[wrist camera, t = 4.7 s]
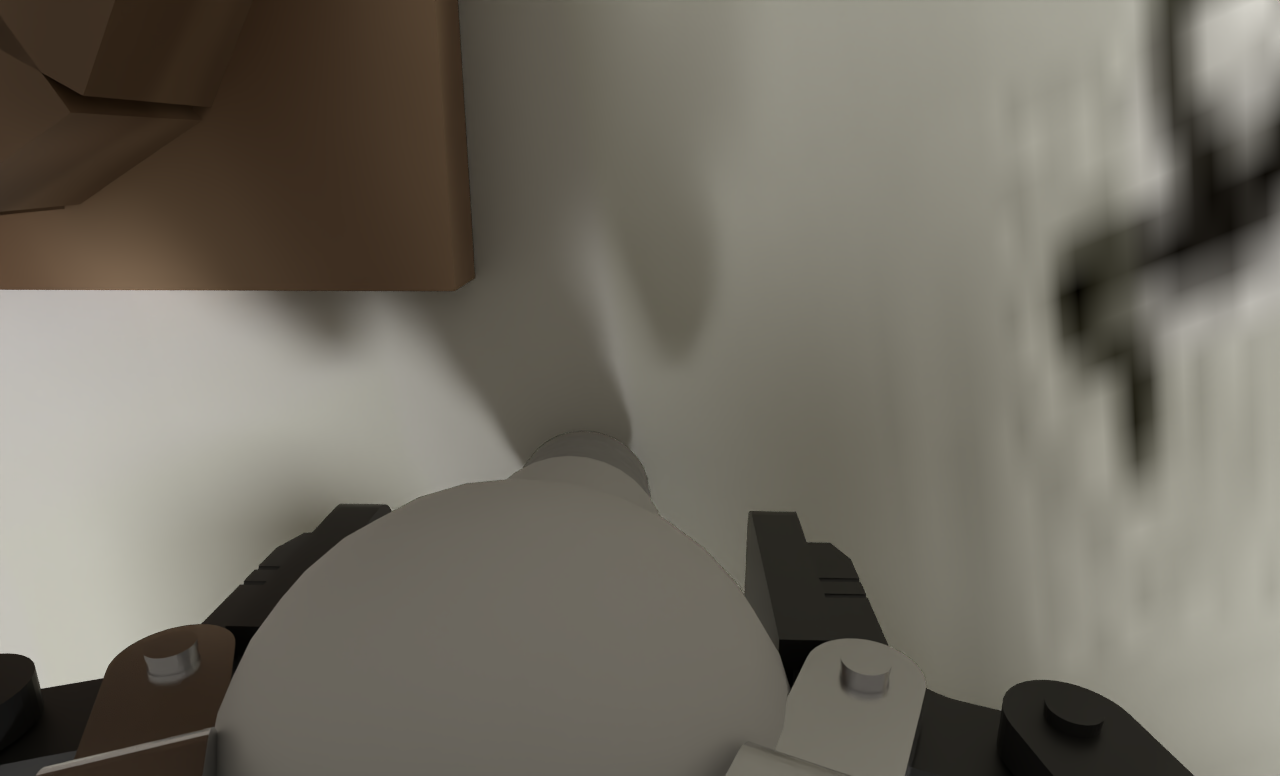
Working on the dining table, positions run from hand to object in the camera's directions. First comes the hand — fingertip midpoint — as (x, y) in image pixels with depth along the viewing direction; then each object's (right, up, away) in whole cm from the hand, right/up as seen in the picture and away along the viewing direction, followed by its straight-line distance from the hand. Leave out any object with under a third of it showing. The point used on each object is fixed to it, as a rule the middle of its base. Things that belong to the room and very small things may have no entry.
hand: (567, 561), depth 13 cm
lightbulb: (0, +1, +4) cm, 4 cm away
